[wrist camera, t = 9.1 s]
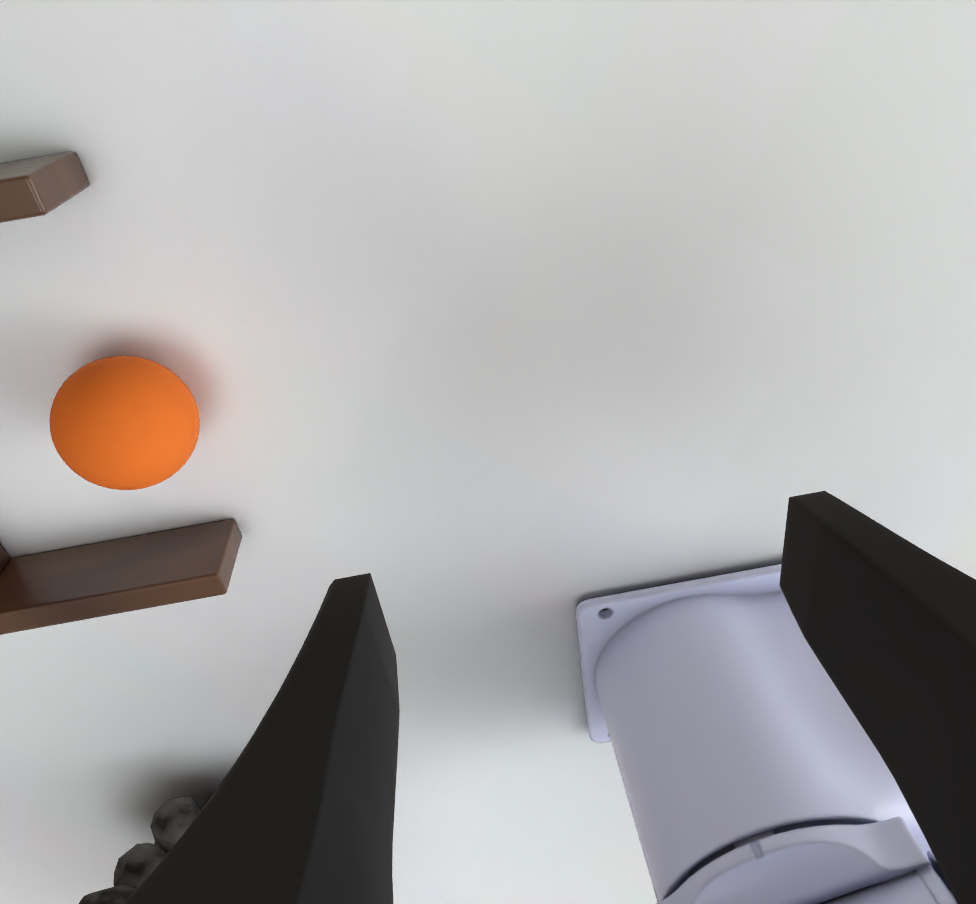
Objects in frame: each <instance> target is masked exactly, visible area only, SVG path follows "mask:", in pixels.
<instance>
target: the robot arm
mask: <svg viewBox="0 0 976 904" xmlns="http://www.w3.org/2000/svg"><path fill="white" fill-rule="evenodd" d="M605 608H608V609H607V610H604V611H601V610H602V609H605ZM576 620H577V629H578V639H579V648H580V658H581V668H582V677H583V687H584V696H585V706H586V715H587V725H588V732H589V736H590V739H591V740H592V741H593V742H596V743H605V742H610V741H612V745H613V748H614V752H615V755H616V759H617V762H618V766H619V769H620V773H621V776H622V780H623V783H624V787H625V790H626V794H627V797H628V801H629V804H630V808H631V811H632V815H633V818H634V822H635V825H636V829H637V832H638V836H639V839H640V843H641V846H642V850H643V853H644V856H645V860H646V863H647V867H648V870H649V874H650V877H651V881H652V884H653V888H654V891H655V895H656V898H657V902H658V903H657V904H976V580H975V579H973V578H972V577H970V576H968V575H966V574H964V573H963V572H961V571H959V570H957V569H955V568H954V567H952V566H950V565H948V564H946V563H945V562H943V561H941V560H939V559H938V558H936V557H934V556H932V555H931V554H929V553H927V552H926V551H924V550H922V549H921V548H919V547H917V546H915V545H914V544H912V543H910V542H909V541H907V540H905V539H904V538H902V537H900V536H899V535H897V534H895V533H894V532H892V531H891V530H889V529H887V528H886V527H884V526H882V525H881V524H879V523H877V522H876V521H874V520H872V519H871V518H869V517H868V516H866V515H864V514H863V513H861V512H859V511H858V510H856V509H854V508H853V507H851V506H850V505H848V504H846V503H845V502H843V501H841V500H839V499H838V498H836V497H834V496H833V495H831V494H829V493H827V492H825V491H821V492H816V493H810V494H805V495H799V496H794V497H789V503H788V512H787V521H786V530H785V539H784V548H783V557H782V564H778V565H773V566H767V567H762V568H756V569H751V570H746V571H740V572H735V573H729V574H724V575H718V576H713V577H707V578H702V579H696V580H691V581H685V582H680V583H674V584H669V585H663V586H658V587H652V588H647V589H641V590H636V591H630V592H625V593H619V594H614V595H608V596H603V597H597V598H592V599H587V600H584V601H582V602H581V603H579V605H578V606H577V607H576ZM398 732H399V694H398V677H397V662H396V653H395V650H394V647H393V644H392V641H391V637H390V634H389V631H388V628H387V625H386V621H385V618H384V615H383V612H382V609H381V606H380V602H379V599H378V596H377V593H376V590H375V586H374V583H373V580H372V577H371V574H370V573H368V574H363V575H357V576H352V577H346V578H341V579H335V580H334V581H333V582H332V584H331V585H330V587H329V589H328V591H327V594H326V596H325V598H324V601H323V603H322V605H321V608H320V610H319V612H318V614H317V616H316V619H315V621H314V623H313V625H312V627H311V629H310V631H309V634H308V636H307V638H306V640H305V642H304V644H303V646H302V648H301V650H300V652H299V654H298V656H297V658H296V660H295V662H294V663H293V665H292V667H291V669H290V671H289V673H288V675H287V677H286V679H285V681H284V683H283V684H282V686H281V688H280V690H279V692H278V694H277V695H276V697H275V699H274V700H273V702H272V704H271V705H270V707H269V709H268V711H267V712H266V714H265V716H264V717H263V719H262V721H261V722H260V724H259V726H258V728H257V729H256V731H255V733H254V734H253V736H252V737H251V739H250V741H249V742H248V744H247V745H246V747H245V748H244V750H243V752H242V753H241V755H240V756H239V758H238V759H237V761H236V762H235V764H234V765H233V767H232V768H231V770H230V771H229V772H228V774H227V775H226V777H225V778H224V780H223V781H222V783H221V784H220V785H219V787H218V788H217V790H216V791H215V793H214V794H213V795H212V797H211V798H210V799H209V801H208V802H207V803H206V805H205V806H204V807H203V809H202V810H201V811H200V813H199V814H198V815H197V816H196V818H195V819H194V820H193V822H192V823H191V824H190V826H189V827H188V828H187V830H186V831H185V832H184V834H183V835H182V836H181V837H180V839H179V840H178V841H177V842H176V844H175V845H174V846H173V847H172V849H171V850H170V851H169V852H168V854H167V855H166V856H165V857H164V858H163V860H162V861H161V862H160V863H159V864H158V865H157V867H156V868H155V869H154V870H153V871H152V872H151V873H150V875H149V876H148V877H147V878H146V879H145V880H144V881H143V883H142V884H141V885H140V886H139V887H138V888H137V889H136V891H135V892H134V893H133V894H132V895H131V896H130V897H129V899H128V900H127V901H126V902H125V903H124V904H393V885H392V842H393V824H394V806H395V788H396V770H397V752H398Z"/></svg>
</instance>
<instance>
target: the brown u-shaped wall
mask: <svg viewBox="0 0 976 904" xmlns="http://www.w3.org/2000/svg"><path fill="white" fill-rule="evenodd" d="M88 186H89V182H88V179H87V177H86V175H85V172H84V170H83V168H82V165H81V163H80V161H79V158H78V156H77V154H76V153H75V152H71V151H70V152H64V153H59V154H53V155H47V156H41V157H35V158H29V159H24V160H18V161H12V162H6V163H0V223H2V222H7V221H13V220H19V219H25V218H31V217H36V216H42V215H45V214H47V213H49V212H50V211H52V210H53V209H55V208H56V207H58V206H59V205H61V204H62V203H64V202H65V201H67V200H68V199H70V198H72V197H73V196H75V195H76V194H78V193H79V192H81V191H82V190H84V189H85V188H87V187H88ZM241 539H242V536H241V534H240V531H239V529H238V527H237V524H236V522H235V520H234V519H230V520H224V521H219V522H213V523H208V524H202V525H196V526H191V527H185V528H180V529H174V530H169V531H163V532H157V533H152V534H146V535H141V536H135V537H130V538H124V539H118V540H113V541H107V542H102V543H96V544H91V545H85V546H79V547H74V548H68V549H63V550H57V551H52V552H46V553H40V554H35V555H29V556H24V557H18V558H13V559H10V558H9V556H8V555H7V553H6V552H5V551H4V549H3V548H2V546H1V545H0V635H1V634H7V633H12V632H18V631H23V630H29V629H34V628H40V627H45V626H51V625H56V624H62V623H68V622H73V621H79V620H84V619H90V618H95V617H101V616H106V615H112V614H117V613H123V612H128V611H134V610H139V609H145V608H150V607H156V606H162V605H167V604H173V603H178V602H184V601H189V600H195V599H200V598H206V597H211V596H217V595H222V594H225V593H226V592H227V589H228V585H229V582H230V578H231V575H232V571H233V567H234V564H235V560H236V557H237V553H238V549H239V546H240V542H241Z"/></svg>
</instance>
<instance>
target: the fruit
mask: <svg viewBox="0 0 976 904" xmlns="http://www.w3.org/2000/svg"><path fill="white" fill-rule="evenodd" d="M202 809H203V808H202V807H201V806H200V805H199V804H198V803H197V802H196V801H195V800H194V799H193V798H192V797H185V796H183V797H177V798H173V799H170V800H167V801H166V802H165V803H164V804H163V805H162V806H161V807H160V808H159V809H158V810H157V811H156V812H155V814H154V817H153V820H152V823H151V826H150V827H151V830H152V833H153V836H154V839H155V843H154V844H150V843H143V844H136V845H135V846H134V847H133V848H131V849H130V850H129V851H128V852H126V853H125V854H124V855H123V856H121V857H120V858H119V859H118V862H117V866H116V869H115V872H114V887H112V888H108V889H104V890H101V891H97V892H93V893H90V894H88V895H86V896H84V897H83V898H82V900H81V901H80V903H79V904H124V903H125V902H126V901H127V900H128V899H129V897H130V896H131V895H132V894H133V893H134V892H135V891H136V889H137V888H138V887H139V886H140V885H141V884H142V883H143V881H144V880H145V879H146V878H147V877H148V876H149V875H150V873H151V872H152V871H153V870H154V869H155V868H156V867H157V865H158V864H159V863H160V862H161V861H162V860H163V858H164V857H165V856H166V855H167V854H168V852H169V851H170V850H171V849H172V847H173V846H174V845H175V844H176V842H177V841H178V840H179V839H180V837H181V836H182V835H183V834H184V832H185V831H186V830H187V828H188V827H189V826H190V824H191V823H192V822H193V820H194V819H195V818H196V816H197V815H198V814H199V813H200V811H201V810H202Z"/></svg>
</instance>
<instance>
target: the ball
mask: <svg viewBox="0 0 976 904" xmlns="http://www.w3.org/2000/svg"><path fill="white" fill-rule="evenodd" d="M50 432H51V436H52V440H53V443H54V445H55V448H56V450H57V452H58V454H59V455H60V457H61V458H62V459H63V461H64V462H65V463H66V464H67V465H68V466H69V467H70V468H71V469H72V470H73V471H74V472H75V473H77V474H78V475H79V476H81V477H82V478H84V479H85V480H87V481H89V482H92V483H94V484H96V485H99V486H103V487H106V488H110V489H118V490H134V489H142V488H146V487H149V486H152V485H155V484H158V483H160V482H162V481H164V480H166V479H167V478H169V477H171V476H172V475H173V474H174V473H176V472H177V471H178V470H179V469H180V468H181V467H182V466H183V465H184V464H185V463H186V461H187V460H188V459H189V457H190V456H191V454H192V452H193V450H194V448H195V445H196V443H197V439H198V435H199V413H198V408H197V405H196V403H195V400H194V398H193V396H192V394H191V392H190V390H189V389H188V387H187V386H186V385H185V384H184V383H183V381H182V380H181V379H180V378H179V377H178V376H177V375H176V374H174V373H173V372H172V371H170V370H169V369H167V368H166V367H164V366H162V365H160V364H158V363H156V362H154V361H151V360H148V359H144V358H140V357H133V356H114V357H107V358H103V359H99V360H96V361H94V362H91V363H89V364H87V365H85V366H83V367H81V368H80V369H78V370H77V371H76V372H75V373H73V374H72V375H71V376H70V377H69V378H68V379H67V380H66V381H65V382H64V383H63V384H62V386H61V387H60V389H59V390H58V392H57V394H56V396H55V398H54V400H53V404H52V407H51V412H50Z"/></svg>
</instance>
